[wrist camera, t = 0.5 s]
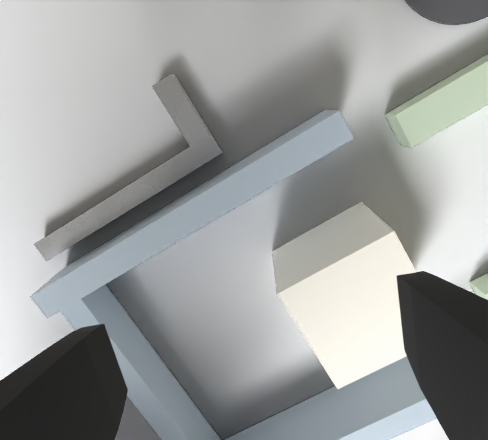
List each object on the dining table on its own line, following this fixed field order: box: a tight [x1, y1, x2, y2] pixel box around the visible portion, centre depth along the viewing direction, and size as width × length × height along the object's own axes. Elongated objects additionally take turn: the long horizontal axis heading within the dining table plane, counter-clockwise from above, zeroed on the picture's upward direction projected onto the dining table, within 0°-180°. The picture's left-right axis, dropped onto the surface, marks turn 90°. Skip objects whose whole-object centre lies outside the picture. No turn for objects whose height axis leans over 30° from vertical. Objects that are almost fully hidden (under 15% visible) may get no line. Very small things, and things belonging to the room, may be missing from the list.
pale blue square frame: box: [30, 110, 437, 440], centre depth 20 cm, size 15×14×4 cm
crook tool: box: [34, 74, 222, 261], centre depth 19 cm, size 10×4×1 cm, turn 121°
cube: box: [272, 202, 416, 389], centre depth 19 cm, size 5×5×5 cm
